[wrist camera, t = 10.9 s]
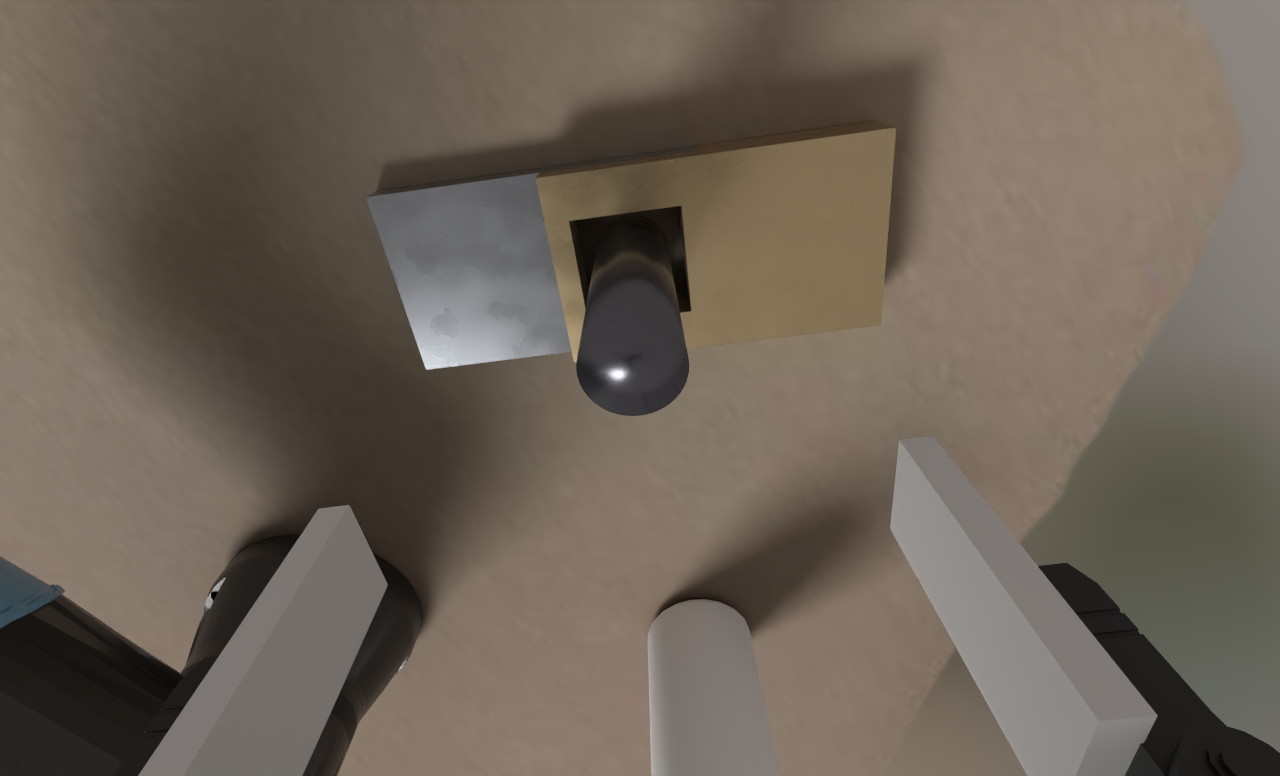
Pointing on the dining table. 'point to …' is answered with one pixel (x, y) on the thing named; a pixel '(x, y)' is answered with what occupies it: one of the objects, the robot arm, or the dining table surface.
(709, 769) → the potion bottle
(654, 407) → the pin
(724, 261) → the tan holed block
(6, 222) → the dining table surface
